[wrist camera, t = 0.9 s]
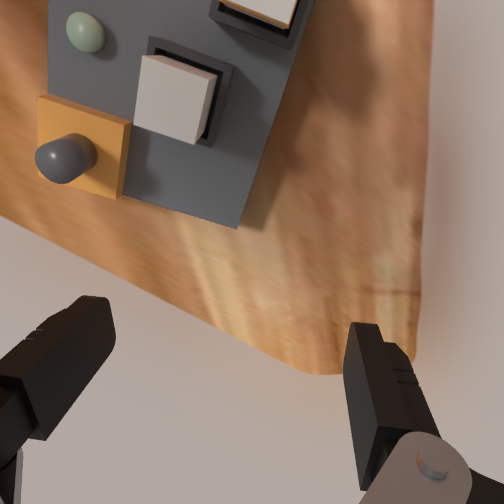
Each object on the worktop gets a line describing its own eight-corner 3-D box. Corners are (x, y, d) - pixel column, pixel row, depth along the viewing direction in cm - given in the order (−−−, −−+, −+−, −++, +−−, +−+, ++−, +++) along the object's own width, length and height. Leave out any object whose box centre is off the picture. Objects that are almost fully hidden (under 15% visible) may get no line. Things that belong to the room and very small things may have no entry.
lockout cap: (49, 170, 30) (11, 191, 25) (50, 94, 27) (6, 102, 22) (122, 192, 31) (98, 216, 26) (132, 121, 27) (105, 134, 23)
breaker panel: (64, 162, 32) (27, 182, 27) (74, -156, 22) (14, -222, 16) (238, 216, 35) (234, 244, 30) (326, -45, 24) (343, -72, 19)
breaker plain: (153, 113, 25) (133, 124, 21) (162, 55, 23) (142, 55, 19) (204, 131, 25) (194, 144, 22) (217, 75, 23) (208, 79, 20)
